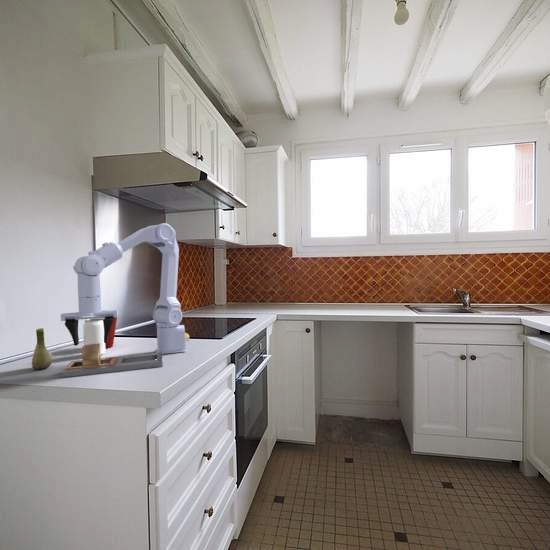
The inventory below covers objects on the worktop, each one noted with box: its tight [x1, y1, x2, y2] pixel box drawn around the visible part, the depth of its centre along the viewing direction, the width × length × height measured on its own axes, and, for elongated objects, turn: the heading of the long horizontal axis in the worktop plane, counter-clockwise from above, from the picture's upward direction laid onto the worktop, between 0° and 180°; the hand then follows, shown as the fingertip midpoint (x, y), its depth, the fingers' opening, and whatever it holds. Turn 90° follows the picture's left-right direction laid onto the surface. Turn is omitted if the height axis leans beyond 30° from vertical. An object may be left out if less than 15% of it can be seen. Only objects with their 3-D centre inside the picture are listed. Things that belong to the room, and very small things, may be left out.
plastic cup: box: [86, 315, 118, 349], centre depth 125 cm, size 11×11×12 cm
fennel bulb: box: [31, 327, 53, 370], centre depth 100 cm, size 6×5×12 cm
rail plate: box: [59, 352, 164, 379], centre depth 100 cm, size 26×12×2 cm, turn 109°
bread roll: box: [185, 332, 190, 342], centre depth 135 cm, size 8×9×4 cm
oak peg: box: [81, 343, 102, 366], centre depth 97 cm, size 4×4×7 cm
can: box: [82, 319, 107, 356], centre depth 115 cm, size 6×6×12 cm
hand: (91, 343), depth 98 cm, fingers open, 7 cm apart
